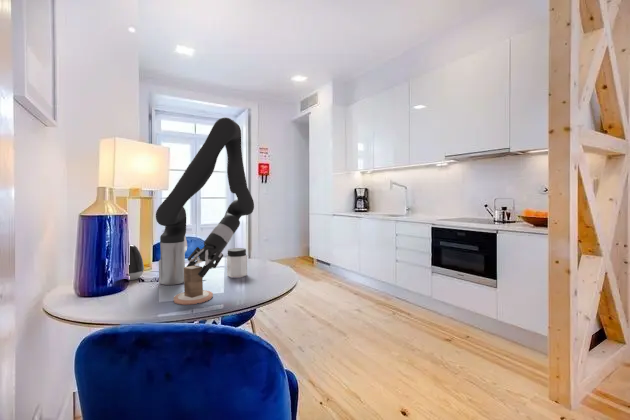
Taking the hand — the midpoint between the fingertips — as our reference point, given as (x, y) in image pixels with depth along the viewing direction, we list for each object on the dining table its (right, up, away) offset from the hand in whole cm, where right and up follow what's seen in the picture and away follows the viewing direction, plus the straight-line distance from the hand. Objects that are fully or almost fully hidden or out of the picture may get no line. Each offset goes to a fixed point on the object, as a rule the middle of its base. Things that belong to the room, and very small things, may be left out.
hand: (192, 274), depth 113 cm
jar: (+8, -7, +32) cm, 34 cm away
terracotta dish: (0, -9, 0) cm, 9 cm away
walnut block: (0, -7, 0) cm, 7 cm away
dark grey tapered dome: (-38, -8, +27) cm, 47 cm away
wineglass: (-20, -7, +35) cm, 41 cm away
